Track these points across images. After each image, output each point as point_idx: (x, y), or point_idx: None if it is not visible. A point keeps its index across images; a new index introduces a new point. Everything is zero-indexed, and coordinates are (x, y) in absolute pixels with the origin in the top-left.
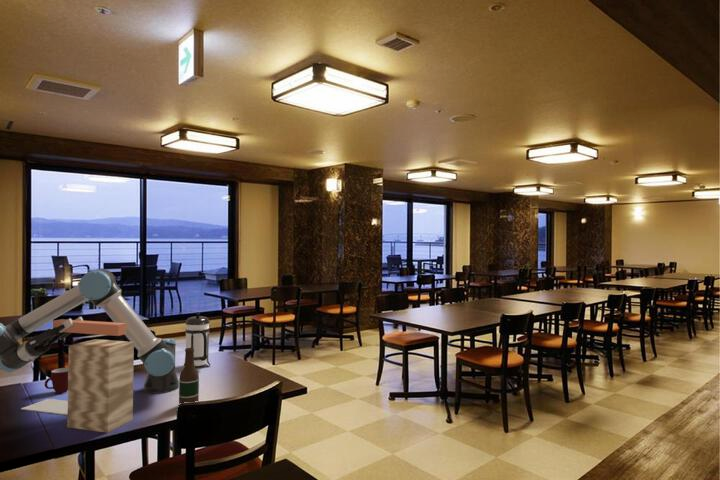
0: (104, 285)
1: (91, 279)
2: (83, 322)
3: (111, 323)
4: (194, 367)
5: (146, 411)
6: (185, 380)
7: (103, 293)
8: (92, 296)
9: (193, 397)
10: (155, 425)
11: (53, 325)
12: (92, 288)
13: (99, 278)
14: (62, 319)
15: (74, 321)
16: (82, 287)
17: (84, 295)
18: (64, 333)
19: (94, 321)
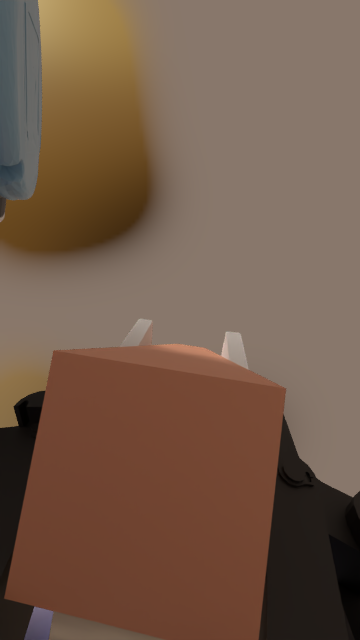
0: (38, 138)
1: (35, 23)
2: (206, 351)
3: (191, 346)
4: None
5: (37, 616)
6: None
7: (35, 183)
8: (23, 162)
9: None
10: None
11: (268, 489)
12: (29, 100)
13: (40, 71)
14: (93, 353)
15: (197, 352)
16: (17, 7)
17: (10, 106)
18: (25, 624)
19: (171, 345)
